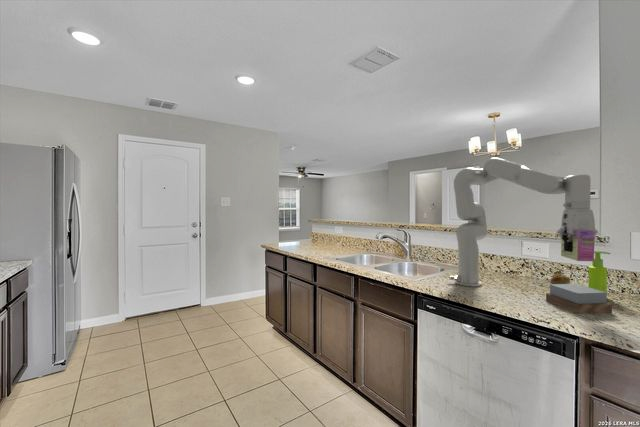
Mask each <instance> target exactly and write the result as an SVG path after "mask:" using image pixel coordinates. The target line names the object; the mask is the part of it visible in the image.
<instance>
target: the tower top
mask: <svg viewBox="0 0 640 427" xmlns="http://www.w3.org/2000/svg"><path fill="white" fill-rule="evenodd" d="M549 293H550V294H552V295H555V296H557V297H560V298H563V299H566V300H568V301H571V302H574V303H577V304H593V303H608V302H607V299H608V295H607V294H608V292H607V293H606V292H603V291H599V290H596V289H592V288H589V287H588V286H586V285H582V284H578V283H569V284H551V283H550V284H549Z"/></svg>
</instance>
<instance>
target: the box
mask: <svg viewBox="0 0 640 427" xmlns="http://www.w3.org/2000/svg"><path fill="white" fill-rule="evenodd" d="M569 234H570V233H569ZM568 237H569V236H568ZM595 237H596V235H595V231H592V230H575V235H573V236H572V240H571V242H572V243H573V247H572V252H568V251H564V241H563V240H562V238H561V237H560V238H561V239H560V241H561V242H560V244H561V246H560V248H561V250H560V256H561V257H563V258H567V259H571V260H574V261H577V262H592V261H594V258H595V253H594V251H595Z"/></svg>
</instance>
